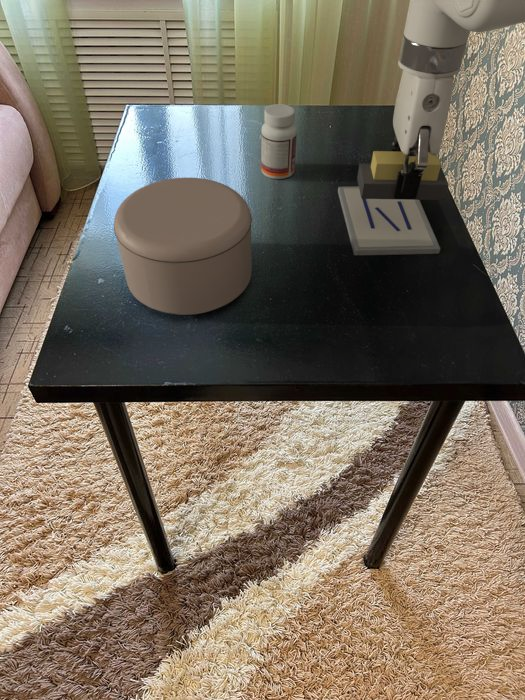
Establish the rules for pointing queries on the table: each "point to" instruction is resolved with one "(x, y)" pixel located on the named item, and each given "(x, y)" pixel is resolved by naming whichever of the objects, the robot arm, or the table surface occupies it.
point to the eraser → (384, 172)
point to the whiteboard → (386, 225)
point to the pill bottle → (278, 141)
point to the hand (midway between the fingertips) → (401, 184)
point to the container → (185, 244)
